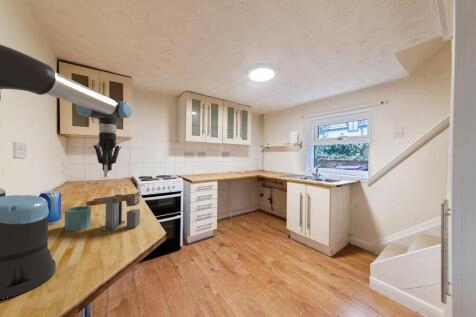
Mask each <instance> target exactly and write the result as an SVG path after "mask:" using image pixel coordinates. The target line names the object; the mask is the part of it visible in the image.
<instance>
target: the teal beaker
mask: <svg viewBox="0 0 476 317" xmlns="http://www.w3.org/2000/svg"><path fill="white" fill-rule="evenodd" d="M91 216H92V206H86V205H81V206H79V205H78V206H73V207H69V208H66V209H65V210H64V231H66V232H75V231H81V230H85V229H87V228H89V227H91V225H92V224H91V223H92V222H91V221H92V219H91V218H92V217H91Z"/></svg>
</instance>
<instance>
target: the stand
mask: <svg viewBox="0 0 476 317" xmlns="http://www.w3.org/2000/svg"><path fill="white" fill-rule="evenodd" d="M119 195H123V194H119V193H118V194H115V195H114V196H119ZM125 223H126V221H125V220H123V201H122V202H115V203H114V198H106V204H105V223H104V224H105V227H103V228H102V229H101V232H114V231H115V230H116V229H118V228H119V227H121V226H122V225H123V224H125Z"/></svg>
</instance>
